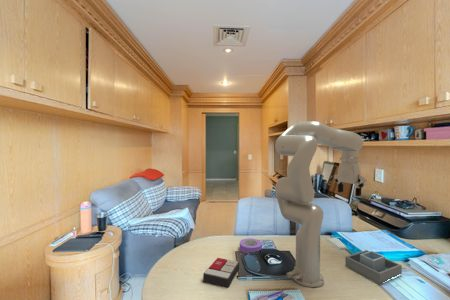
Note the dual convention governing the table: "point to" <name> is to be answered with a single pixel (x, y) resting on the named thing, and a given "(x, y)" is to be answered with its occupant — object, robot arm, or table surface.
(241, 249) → the masking tape
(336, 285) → the table surface
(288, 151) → the robot arm
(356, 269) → the grey crate
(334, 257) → the table surface
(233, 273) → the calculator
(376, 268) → the grey block
